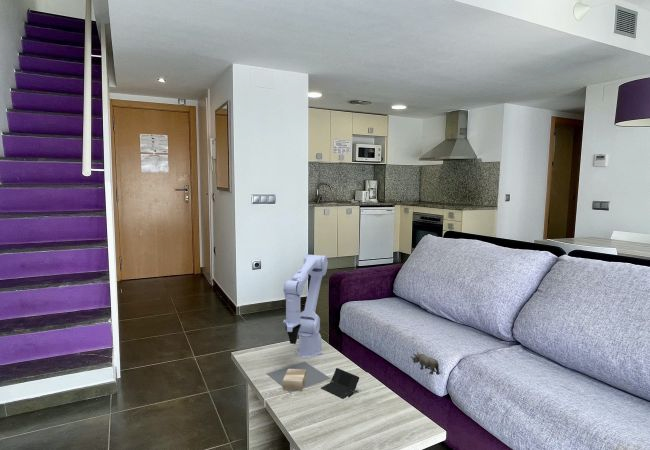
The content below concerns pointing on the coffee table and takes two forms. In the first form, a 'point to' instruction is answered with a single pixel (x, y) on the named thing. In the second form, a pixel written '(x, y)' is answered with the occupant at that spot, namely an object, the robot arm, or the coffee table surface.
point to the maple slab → (294, 379)
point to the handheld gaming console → (342, 384)
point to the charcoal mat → (311, 373)
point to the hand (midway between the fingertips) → (293, 343)
